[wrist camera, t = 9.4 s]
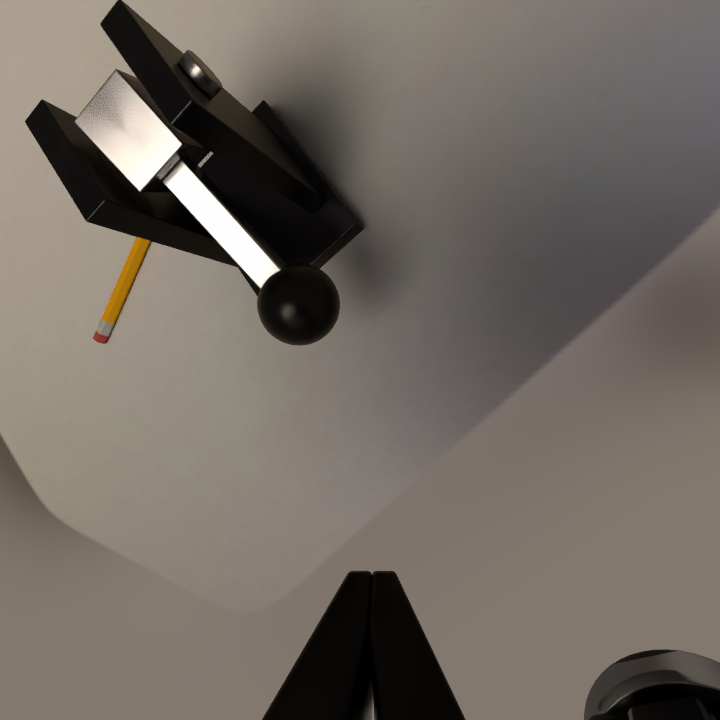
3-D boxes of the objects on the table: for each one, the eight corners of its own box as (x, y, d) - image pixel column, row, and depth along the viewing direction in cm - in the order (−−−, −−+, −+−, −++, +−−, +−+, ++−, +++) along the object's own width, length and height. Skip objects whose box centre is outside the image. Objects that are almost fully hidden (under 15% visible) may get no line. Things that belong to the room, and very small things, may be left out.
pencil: (100, 337, 28) (90, 337, 28) (195, 120, 26) (186, 114, 25) (109, 344, 28) (99, 344, 28) (205, 126, 26) (196, 120, 25)
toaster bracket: (364, 228, 23) (238, 132, 13) (274, 309, 24) (103, 278, 15) (273, 109, 24) (100, -56, 14) (195, 192, 26) (-8, 94, 16)
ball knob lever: (359, 300, 19) (352, 319, 16) (305, 347, 20) (289, 372, 17) (165, 77, 17) (118, 55, 14) (112, 139, 18) (58, 129, 15)
